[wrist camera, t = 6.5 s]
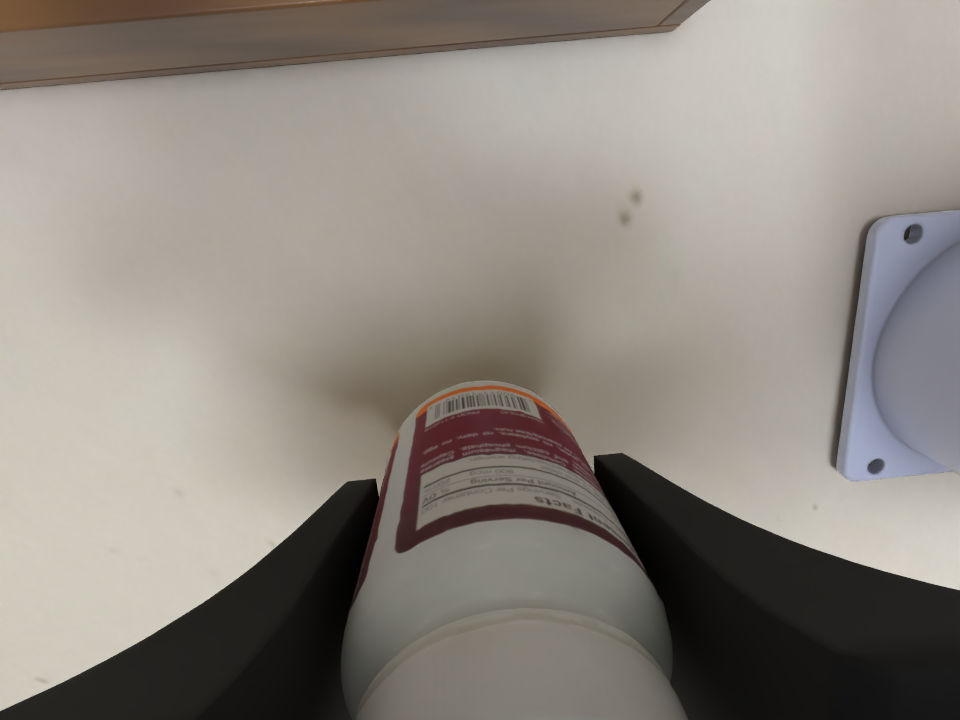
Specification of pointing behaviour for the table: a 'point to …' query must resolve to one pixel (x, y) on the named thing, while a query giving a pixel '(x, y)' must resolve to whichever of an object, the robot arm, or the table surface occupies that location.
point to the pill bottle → (501, 577)
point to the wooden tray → (287, 32)
